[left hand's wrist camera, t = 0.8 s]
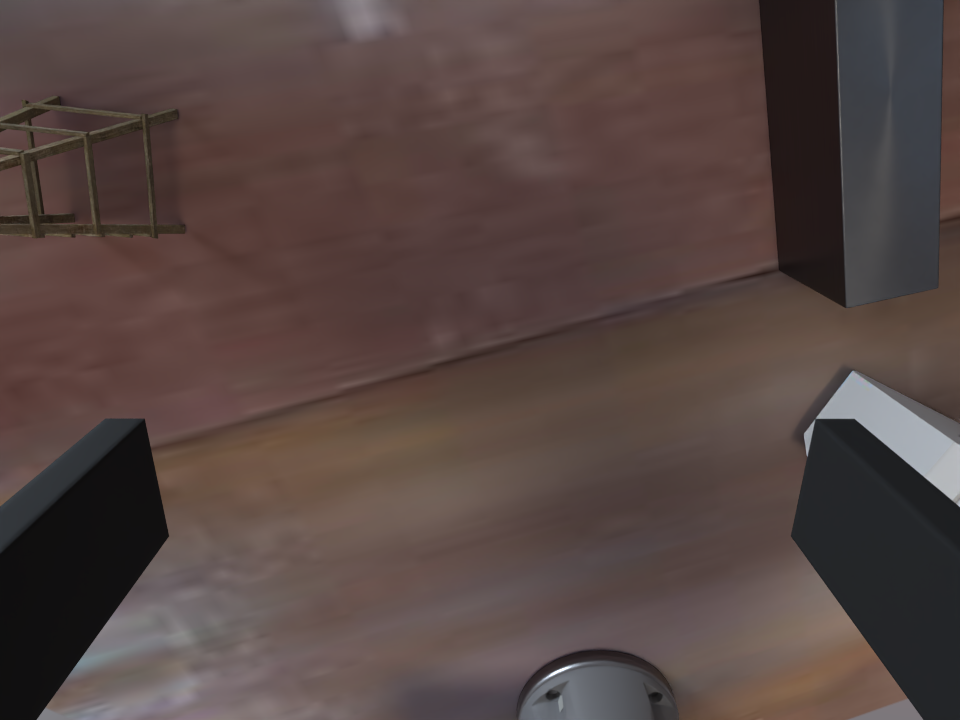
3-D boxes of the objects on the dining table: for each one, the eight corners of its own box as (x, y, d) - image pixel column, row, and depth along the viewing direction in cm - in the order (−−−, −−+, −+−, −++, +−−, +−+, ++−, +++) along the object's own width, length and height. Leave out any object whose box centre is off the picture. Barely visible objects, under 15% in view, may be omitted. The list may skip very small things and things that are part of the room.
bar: (854, 253, 47) (939, 288, 38) (778, 270, 48) (845, 308, 39) (842, -126, 39) (947, -192, 30) (751, -101, 39) (829, -158, 30)
